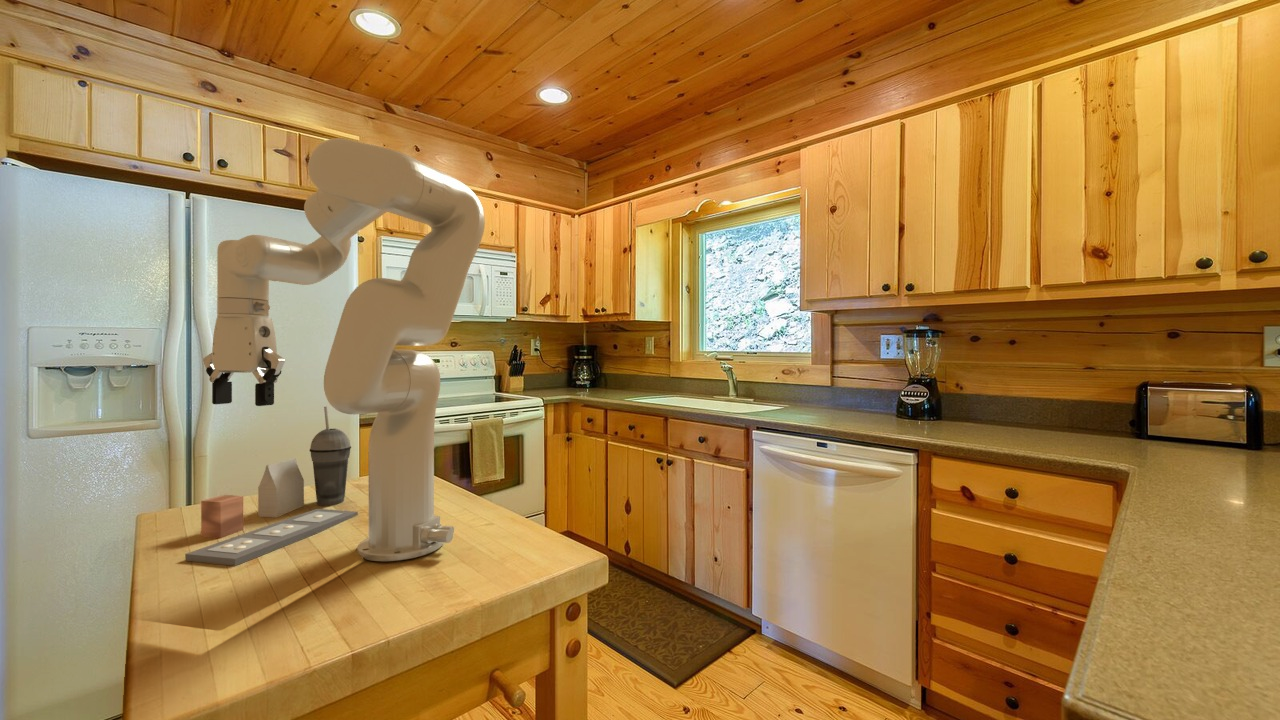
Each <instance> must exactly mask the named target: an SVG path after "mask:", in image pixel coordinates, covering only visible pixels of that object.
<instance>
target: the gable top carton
mask: <svg viewBox="0 0 1280 720" xmlns="http://www.w3.org/2000/svg"><path fill="white" fill-rule="evenodd" d="M304 486H305V479H304V477H303V474H302V473H301V471H300V469H299V466H298V464H297V459H296V458H291V459H287V460H282V461H280V462H276V463H271V464H266V466H265V470H264V472H263V475H262V478H261V479H260V482H259V484H258V488H257V495H258V496H257V497H258V498H257V501H258V503H257V504H258V508H257V509H258V511H257V514H258V515H257V516H258V517H259V518H260V517H262V518H279V517H281V516H283V515H286V514H288V513H290V512H292V511H294V510H298V509H299V508H301V507H304V506H305V487H304Z"/></svg>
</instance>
